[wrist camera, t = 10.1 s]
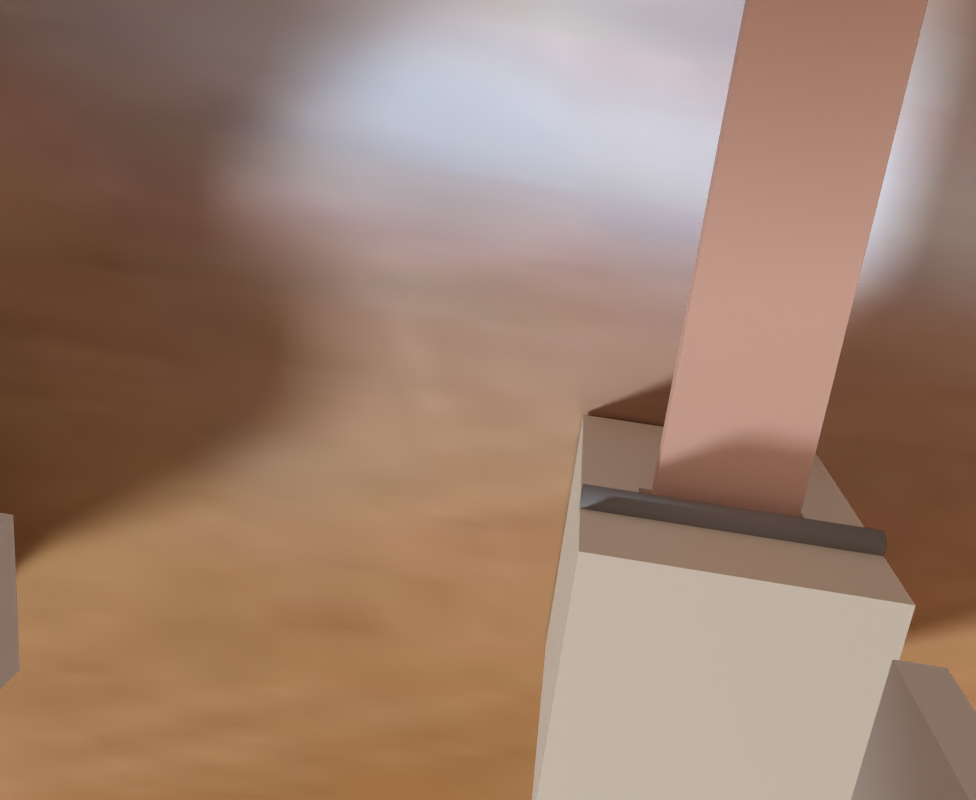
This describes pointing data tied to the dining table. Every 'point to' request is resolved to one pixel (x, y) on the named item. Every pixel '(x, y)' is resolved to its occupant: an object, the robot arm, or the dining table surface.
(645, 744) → the block
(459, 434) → the dining table surface
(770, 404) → the ticket strip
